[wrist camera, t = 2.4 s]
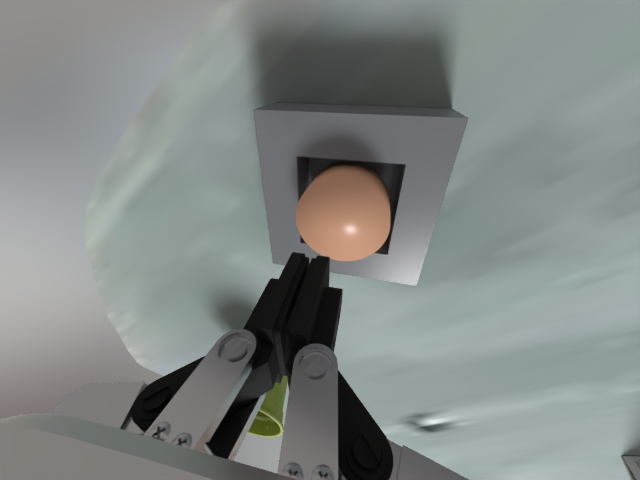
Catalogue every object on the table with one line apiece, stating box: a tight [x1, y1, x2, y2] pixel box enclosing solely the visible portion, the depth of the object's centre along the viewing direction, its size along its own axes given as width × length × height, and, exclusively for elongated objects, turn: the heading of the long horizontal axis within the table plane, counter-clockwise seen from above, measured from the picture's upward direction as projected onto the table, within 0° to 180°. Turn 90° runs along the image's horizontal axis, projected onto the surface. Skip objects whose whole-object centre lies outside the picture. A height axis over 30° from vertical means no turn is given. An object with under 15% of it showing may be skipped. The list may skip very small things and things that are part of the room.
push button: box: [296, 162, 390, 261], centre depth 17 cm, size 6×6×3 cm
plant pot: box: [247, 376, 288, 437], centre depth 35 cm, size 9×9×9 cm
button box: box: [253, 103, 468, 286], centre depth 19 cm, size 12×12×4 cm
